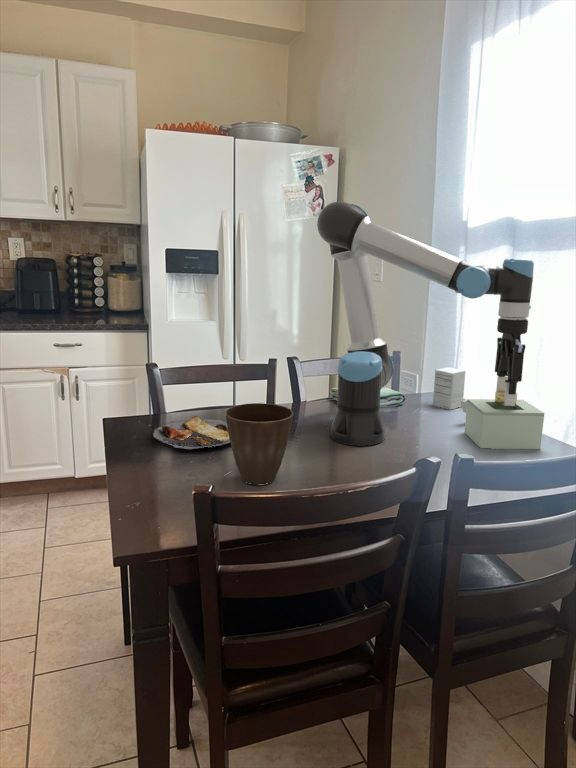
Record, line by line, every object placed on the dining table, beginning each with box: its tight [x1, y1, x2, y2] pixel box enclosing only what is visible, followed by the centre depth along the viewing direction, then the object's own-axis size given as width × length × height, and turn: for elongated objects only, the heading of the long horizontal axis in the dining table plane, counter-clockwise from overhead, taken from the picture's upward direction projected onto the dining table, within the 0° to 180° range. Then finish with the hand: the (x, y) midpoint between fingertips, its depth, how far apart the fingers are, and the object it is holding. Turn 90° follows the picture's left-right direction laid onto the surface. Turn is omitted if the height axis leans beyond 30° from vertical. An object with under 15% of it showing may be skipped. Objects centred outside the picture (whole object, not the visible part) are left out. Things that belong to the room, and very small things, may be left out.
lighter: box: [460, 398, 468, 414], centre depth 174 cm, size 7×2×8 cm, turn 118°
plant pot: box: [224, 402, 294, 484], centre depth 128 cm, size 15×15×16 cm
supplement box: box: [432, 366, 466, 411], centre depth 193 cm, size 7×7×13 cm
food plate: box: [152, 415, 231, 450], centre depth 158 cm, size 25×23×4 cm
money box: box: [464, 398, 545, 450], centre depth 159 cm, size 16×14×10 cm
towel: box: [329, 386, 407, 409], centre depth 199 cm, size 18×21×5 cm
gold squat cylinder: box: [494, 391, 518, 406], centre depth 157 cm, size 6×6×3 cm
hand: (504, 402), depth 157 cm, fingers closed on gold squat cylinder, 5 cm apart
